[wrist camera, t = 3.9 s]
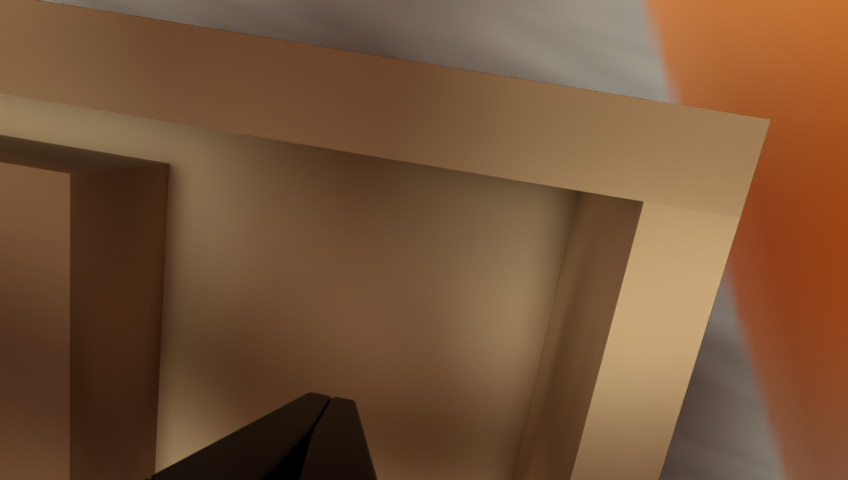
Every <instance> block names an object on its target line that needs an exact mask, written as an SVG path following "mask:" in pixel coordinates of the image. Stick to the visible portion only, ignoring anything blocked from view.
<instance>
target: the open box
mask: <svg viewBox="0 0 848 480" xmlns="http://www.w3.org/2000/svg"><path fill="white" fill-rule="evenodd" d="M769 123H770V120H769V119H763V118H757V117H751V116H744V115H738V114H732V113H725V112H720V111H714V110H708V109H701V108H695V107H689V106H683V105H677V104H671V103H665V102H659V101H653V100H647V99H640V98H634V97H628V96H622V95H616V94H610V93H604V92H598V91H591V90H585V89H579V88H573V87H567V86H561V85H555V84H549V83H542V82H536V81H530V80H524V79H518V78H512V77H506V76H500V75H493V74H487V73H481V72H475V71H469V70H463V69H457V68H451V67H444V66H438V65H432V64H426V63H420V62H414V61H408V60H402V59H395V58H389V57H383V56H377V55H371V54H365V53H359V52H353V51H346V50H340V49H334V48H328V47H322V46H316V45H310V44H304V43H297V42H291V41H285V40H279V39H273V38H267V37H261V36H255V35H248V34H242V33H236V32H230V31H224V30H218V29H212V28H206V27H200V26H193V25H187V24H181V23H175V22H169V21H163V20H157V19H151V18H144V17H138V16H132V15H126V14H120V13H114V12H108V11H102V10H95V9H89V8H83V7H77V6H71V5H65V4H59V3H53V2H46V1H40V0H0V135H5V136H11V137H17V138H23V139H29V140H34V141H40V142H46V143H52V144H58V145H64V146H70V147H76V148H81V149H87V150H93V151H99V152H105V153H111V154H117V155H122V156H128V157H134V158H140V159H146V160H152V161H158V162H164V163H169V178H168V200H167V222H166V243H165V265H164V287H163V308H162V330H161V352H160V374H159V395H158V417H157V439H156V460H155V473H157V472H159V471H161V470H163V469H165V468H167V467H169V466H170V465H172V464H174V463H176V462H178V461H180V460H182V459H184V458H186V457H187V456H189V455H191V454H193V453H195V452H197V451H199V450H201V449H202V448H204V447H206V446H208V445H210V444H212V443H214V442H216V441H218V440H219V439H221V438H223V437H225V436H227V435H229V434H231V433H233V432H235V431H236V430H238V429H240V428H242V427H244V426H246V425H248V424H250V423H252V422H253V421H255V420H257V419H259V418H261V417H263V416H265V415H267V414H268V413H270V412H272V411H274V410H276V409H278V408H280V407H282V406H284V405H285V404H287V403H289V402H291V401H293V400H295V399H297V398H299V397H301V396H302V395H304V394H306V393H309V392H314V393H320V394H325V395H329V396H330V397H331V399H332V398H333V397H341V398H347V399H352V400H354V401H355V402H356V405H357V408H358V412H359V415H360V419H361V422H362V426H363V429H364V433H365V436H366V440H367V444H368V447H369V451H370V454H371V458H372V461H373V465H374V468H375V472H376V476H377V479H378V480H659V477H660V474H661V471H662V468H663V464H664V461H665V458H666V455H667V451H668V448H669V445H670V442H671V439H672V435H673V432H674V429H675V426H676V422H677V419H678V416H679V413H680V410H681V406H682V403H683V400H684V397H685V394H686V390H687V387H688V384H689V381H690V377H691V374H692V371H693V368H694V365H695V361H696V358H697V355H698V352H699V348H700V345H701V342H702V339H703V336H704V332H705V329H706V326H707V323H708V319H709V316H710V313H711V310H712V307H713V303H714V300H715V297H716V294H717V290H718V287H719V284H720V281H721V278H722V274H723V271H724V268H725V265H726V262H727V258H728V255H729V252H730V249H731V245H732V242H733V239H734V236H735V233H736V229H737V226H738V223H739V220H740V216H741V213H742V210H743V207H744V204H745V200H746V197H747V194H748V191H749V187H750V184H751V181H752V178H753V174H754V171H755V168H756V165H757V161H758V159H759V155H760V152H761V149H762V145H763V142H764V139H765V136H766V133H767V129H768V126H769Z"/></svg>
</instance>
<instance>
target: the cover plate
mask: <svg viewBox="0 0 848 480" xmlns="http://www.w3.org/2000/svg"><path fill="white" fill-rule="evenodd" d="M168 178H169V163H164V162H158V161H152V160H146V159H140V158H134V157H128V156H122V155H117V154H111V153H105V152H99V151H93V150H87V149H81V148H76V147H70V146H64V145H58V144H52V143H46V142H40V141H34V140H29V139H23V138H17V137H11V136H5V135H0V480H144V479H146V478H149V479H150V478H151V476H152V475H153V474H155V460H156V439H157V417H158V395H159V374H160V352H161V330H162V308H163V287H164V265H165V243H166V222H167V200H168Z"/></svg>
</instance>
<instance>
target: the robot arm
mask: <svg viewBox="0 0 848 480" xmlns="http://www.w3.org/2000/svg"><path fill="white" fill-rule="evenodd" d="M144 480H378V479H377V476H376V472H375V468H374V465H373V461H372V458H371V454H370V451H369V447H368V444H367V440H366V436H365V433H364V429H363V426H362V422H361V419H360V415H359V412H358V408H357V405H356V402H355V401H354V400H352V399H347V398H341V397H333V398H332V399H331V397H330V396H329V395H325V394H320V393H314V392H309V393H306V394H304V395H302V396H301V397H299V398H297V399H295V400H293V401H291V402H289V403H287V404H285V405H284V406H282V407H280V408H278V409H276V410H274V411H272V412H270V413H268V414H267V415H265V416H263V417H261V418H259V419H257V420H255V421H253V422H252V423H250V424H248V425H246V426H244V427H242V428H240V429H238V430H236V431H235V432H233V433H231V434H229V435H227V436H225V437H223V438H221V439H219V440H218V441H216V442H214V443H212V444H210V445H208V446H206V447H204V448H202V449H201V450H199V451H197V452H195V453H193V454H191V455H189V456H187V457H186V458H184V459H182V460H180V461H178V462H176V463H174V464H172V465H170V466H169V467H167V468H165V469H163V470H161V471H159V472H157V473H155V474H153V475H152V476H151V478H150V479H149V478H146V479H144Z"/></svg>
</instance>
